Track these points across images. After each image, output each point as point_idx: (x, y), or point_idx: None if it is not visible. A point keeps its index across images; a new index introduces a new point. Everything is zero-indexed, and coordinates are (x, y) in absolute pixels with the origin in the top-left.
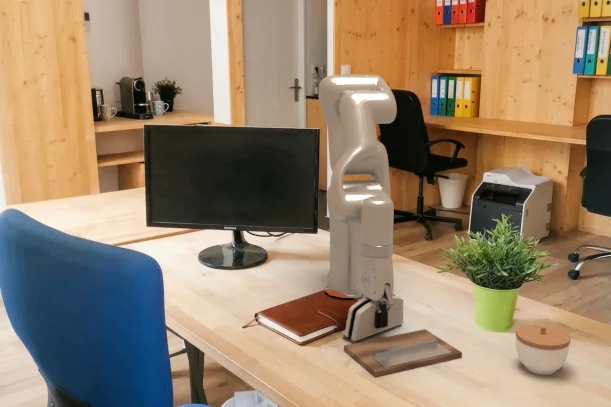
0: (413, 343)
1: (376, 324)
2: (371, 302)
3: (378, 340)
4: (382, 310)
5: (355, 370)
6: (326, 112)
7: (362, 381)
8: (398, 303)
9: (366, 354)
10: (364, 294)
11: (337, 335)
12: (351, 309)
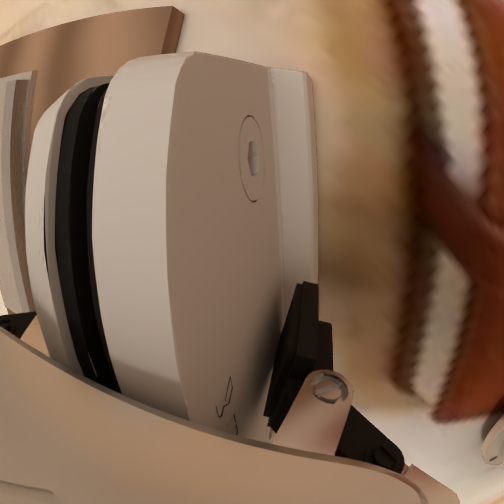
0: (16, 258)
1: None
2: (50, 326)
3: None
4: (35, 312)
5: (53, 4)
6: None
7: (16, 8)
8: None
9: (59, 64)
10: (141, 420)
11: (364, 93)
12: (146, 62)
